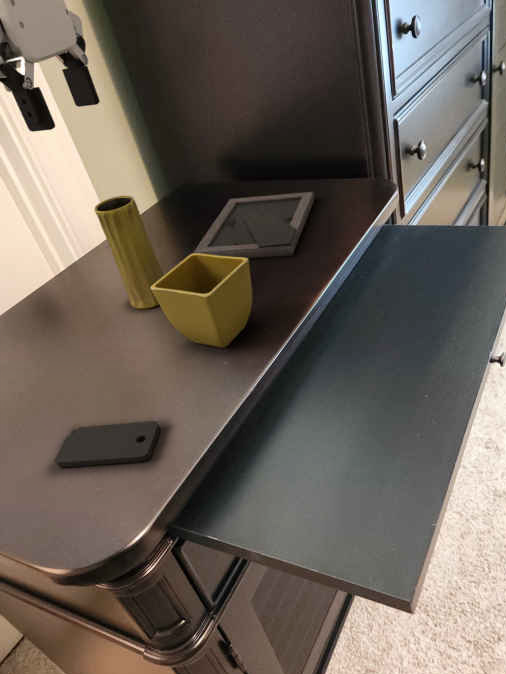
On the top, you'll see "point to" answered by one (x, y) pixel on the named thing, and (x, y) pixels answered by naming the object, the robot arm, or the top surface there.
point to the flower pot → (207, 297)
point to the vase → (130, 249)
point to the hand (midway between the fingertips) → (66, 116)
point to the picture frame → (258, 226)
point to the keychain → (108, 444)
